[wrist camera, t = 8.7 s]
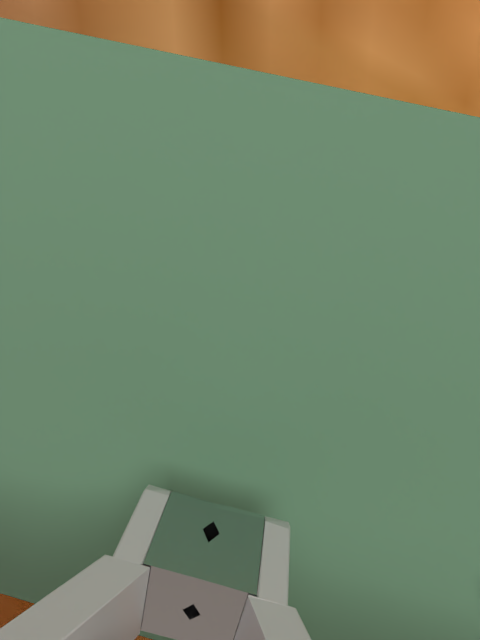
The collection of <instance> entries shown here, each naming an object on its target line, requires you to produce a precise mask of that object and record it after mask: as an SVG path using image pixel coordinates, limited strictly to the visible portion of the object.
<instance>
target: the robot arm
mask: <svg viewBox="0 0 480 640" xmlns="http://www.w3.org/2000/svg"><path fill="white" fill-rule="evenodd" d="M289 555H290V525H289V522H286V521H282V520H278V519H275V518H271V517H267V516H265V517H264V515H261V514H257V513H253V512H249V511H245V510H241V509H237V508H233V507H229V506H225V505H222V504H215V503H211V502H208V501H205V500H201V499H198V498H195V497H191V496H188V495H185V494H181V493H178V492H175V491H170V490H167V489H163V488H160V487H156V486H153V485H148V486H147V487H146V488H145V490H144V491H143V493H142V495H141V497H140V500H139V502H138V504H137V506H136V508H135V510H134V512H133V514H132V516H131V518H130V521H129V523H128V525H127V527H126V529H125V531H124V533H123V535H122V537H121V540H120V542H119V544H118V546H117V548H116V550H115V552H114V554H113V556H109V555H104V556H102V557H101V558H99V559H98V560H96V561H95V562H94V563H92V564H91V565H89V566H88V567H87V568H85V569H84V570H82V571H81V572H79V573H78V574H77V575H75V576H74V577H72V578H71V579H70V580H68V581H67V582H65V583H64V584H62V585H61V586H60V587H58V588H57V589H55V590H54V591H53V592H51V593H50V594H48V595H47V596H46V597H44V598H43V599H41V600H40V601H38V602H37V603H36V604H34V605H33V606H31V607H30V608H29V609H27V610H26V611H24V612H23V613H21V614H20V615H19V616H17V617H16V618H14V619H13V620H12V621H10V622H9V623H7V624H6V625H4V626H3V627H2V628H0V640H134V639H135V638H136V637H137V636H138V635H139V634H140V630H141V631H145V632H149V633H153V634H156V635H160V636H164V637H168V638H172V639H176V640H311V638H310V636H309V634H308V632H307V630H306V628H305V626H304V624H303V622H302V620H301V618H300V616H299V614H298V611H297V609H296V608H294V607H291V606H288V586H289ZM185 637H186V638H185Z"/></svg>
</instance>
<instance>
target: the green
mask: <svg viewBox="0 0 480 640" xmlns="http://www.w3.org/2000/svg"><path fill="white" fill-rule="evenodd" d="M148 485H153V486H156V487H160V488H163V489H167V490H170V491H175V492H178V493H181V494H185V495H188V496H191V497H195V498H198V499H201V500H205V501H208V502H211V503H215V504H222V505H225V506H229V507H233V508H237V509H241V510H245V511H249V512H253V513H257V514H261V515H264V517H265V516H267V517H271V518H275V519H278V520H282V521H286V522H289V525H290V555H289V586H288V606H291V607H294V608H296V609H297V611H298V614H299V616H300V618H301V620H302V622H303V624H304V626H305V628H306V630H307V632H308V634H309V636H310V638H311V640H480V117H475V116H470V115H465V114H461V113H456V112H451V111H446V110H441V109H437V108H432V107H427V106H422V105H417V104H413V103H408V102H403V101H398V100H393V99H389V98H384V97H379V96H374V95H369V94H365V93H360V92H355V91H350V90H345V89H341V88H336V87H331V86H326V85H321V84H317V83H312V82H307V81H302V80H298V79H293V78H288V77H283V76H278V75H274V74H269V73H264V72H259V71H254V70H250V69H245V68H240V67H235V66H230V65H226V64H221V63H216V62H211V61H206V60H202V59H197V58H192V57H187V56H182V55H178V54H173V53H168V52H163V51H158V50H154V49H149V48H144V47H139V46H134V45H130V44H125V43H120V42H115V41H110V40H106V39H101V38H96V37H91V36H86V35H82V34H77V33H72V32H67V31H62V30H58V29H53V28H48V27H43V26H39V25H34V24H29V23H24V22H19V21H15V20H10V19H5V18H0V593H1V594H5V595H8V596H11V597H15V598H18V599H21V600H25V601H28V602H31V603H34V604H36V603H37V602H38V601H40V600H41V599H43V598H44V597H46V596H47V595H48V594H50V593H51V592H53V591H54V590H55V589H57V588H58V587H60V586H61V585H62V584H64V583H65V582H67V581H68V580H70V579H71V578H72V577H74V576H75V575H77V574H78V573H79V572H81V571H82V570H84V569H85V568H87V567H88V566H89V565H91V564H92V563H94V562H95V561H96V560H98V559H99V558H101V557H102V556H104V555H109V556H113V554H114V552H115V550H116V548H117V546H118V544H119V542H120V540H121V537H122V535H123V533H124V531H125V529H126V527H127V525H128V523H129V521H130V518H131V516H132V514H133V512H134V510H135V508H136V506H137V504H138V502H139V500H140V497H141V495H142V493H143V491H144V490H145V488H146V487H147V486H148ZM139 635H140V636H143V637H147V638H150V639H153V640H176V639H172V638H168V637H164V636H160V635H156V634H153V633H149V632H145V631H141V630H140V634H139ZM185 638H186V637H185Z"/></svg>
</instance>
